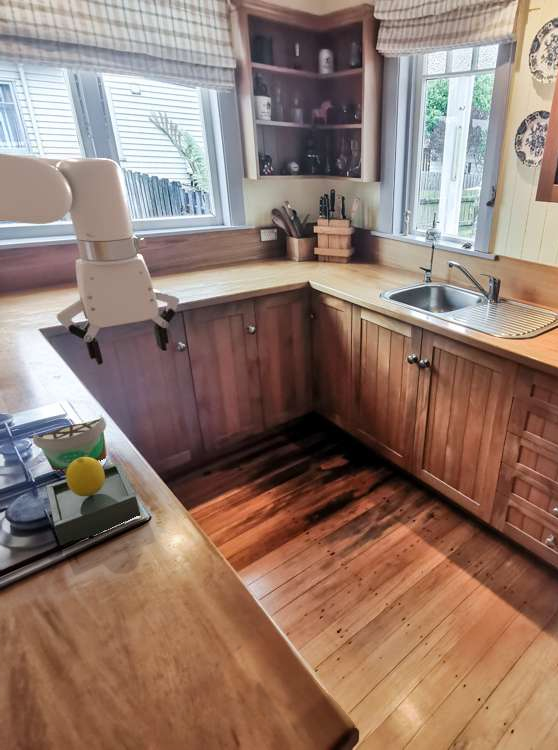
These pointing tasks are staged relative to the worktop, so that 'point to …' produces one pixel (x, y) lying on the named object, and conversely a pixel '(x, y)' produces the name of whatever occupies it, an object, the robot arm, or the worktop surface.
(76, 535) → the grey green square tray
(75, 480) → the lemon
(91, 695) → the worktop surface
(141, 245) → the robot arm
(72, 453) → the food container
